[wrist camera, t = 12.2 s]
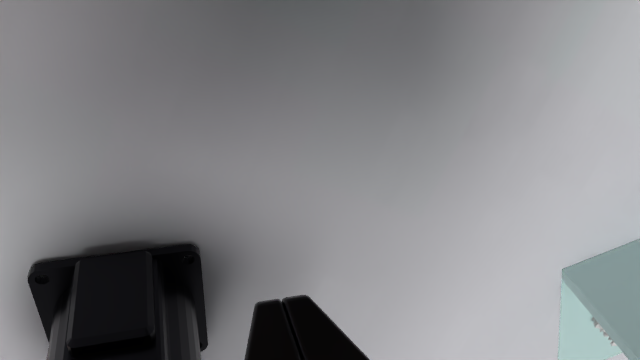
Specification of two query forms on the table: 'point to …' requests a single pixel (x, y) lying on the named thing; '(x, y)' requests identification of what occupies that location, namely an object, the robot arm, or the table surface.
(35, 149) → the table surface
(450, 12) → the table surface
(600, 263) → the right angle wall
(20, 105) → the table surface
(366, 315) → the table surface
